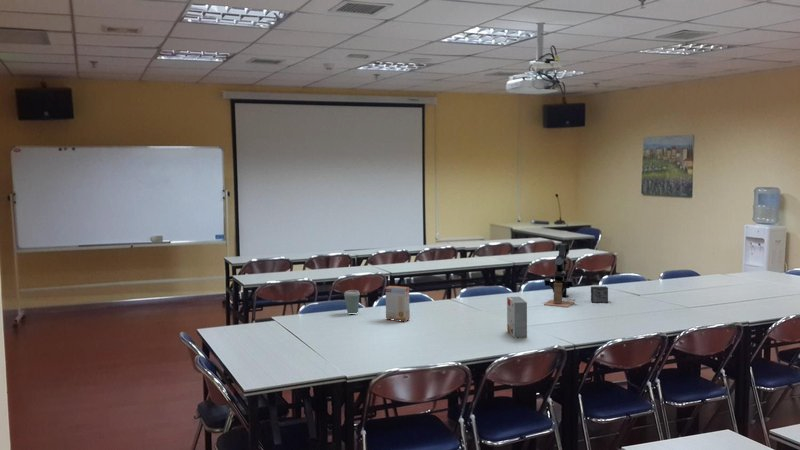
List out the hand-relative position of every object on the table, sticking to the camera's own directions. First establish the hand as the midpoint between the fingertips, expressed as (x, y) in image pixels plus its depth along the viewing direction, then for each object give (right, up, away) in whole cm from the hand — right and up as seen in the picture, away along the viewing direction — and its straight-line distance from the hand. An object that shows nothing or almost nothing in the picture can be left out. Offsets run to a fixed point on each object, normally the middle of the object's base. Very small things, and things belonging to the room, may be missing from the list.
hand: (557, 292), depth 434 cm
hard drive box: (-40, -16, -72) cm, 84 cm away
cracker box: (-107, -14, -34) cm, 113 cm away
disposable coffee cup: (-137, -12, -15) cm, 138 cm away
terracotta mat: (+2, -8, +4) cm, 10 cm away
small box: (+31, -8, +9) cm, 33 cm away
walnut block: (0, -7, +2) cm, 7 cm away
